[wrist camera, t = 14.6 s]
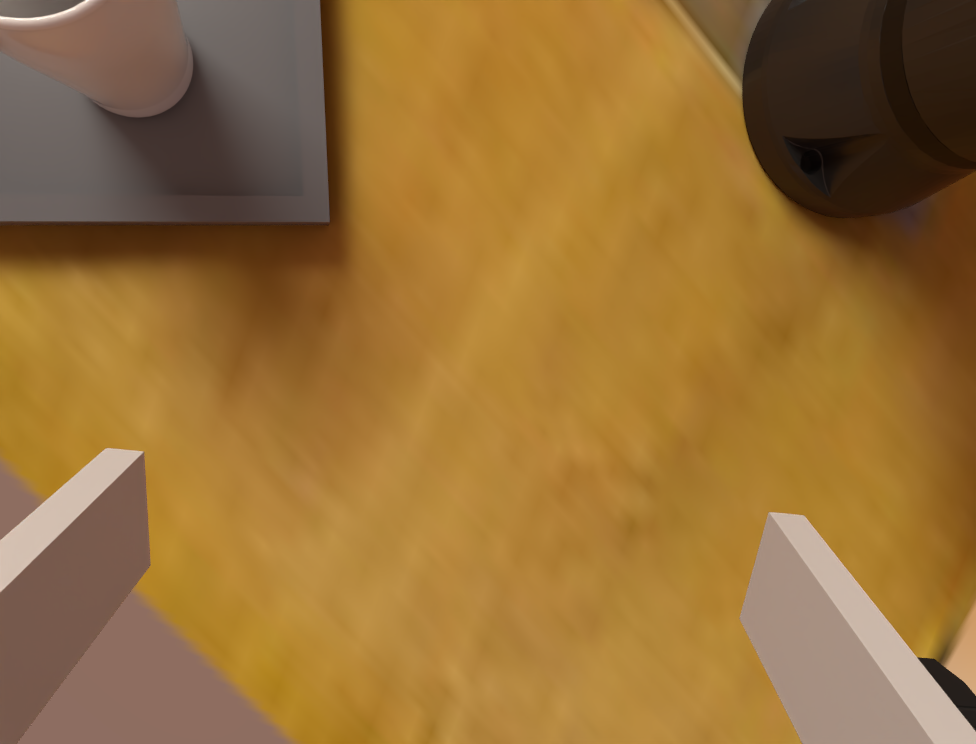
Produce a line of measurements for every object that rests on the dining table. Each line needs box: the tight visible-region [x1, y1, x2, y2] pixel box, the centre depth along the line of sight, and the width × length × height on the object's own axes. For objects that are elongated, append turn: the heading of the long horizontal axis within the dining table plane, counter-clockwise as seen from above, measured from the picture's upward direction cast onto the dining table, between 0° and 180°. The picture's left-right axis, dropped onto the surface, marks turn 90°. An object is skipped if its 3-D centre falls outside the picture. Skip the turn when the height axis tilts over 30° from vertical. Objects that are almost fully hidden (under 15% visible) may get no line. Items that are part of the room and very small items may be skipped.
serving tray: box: [0, 0, 330, 225], centre depth 33 cm, size 17×15×2 cm
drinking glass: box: [0, 0, 193, 118], centre depth 26 cm, size 7×7×15 cm
